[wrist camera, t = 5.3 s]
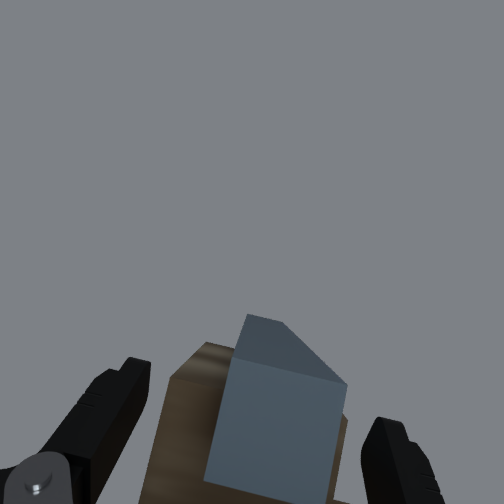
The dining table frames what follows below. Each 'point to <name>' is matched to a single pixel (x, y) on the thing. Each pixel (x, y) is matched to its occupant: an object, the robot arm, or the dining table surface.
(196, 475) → the plinth
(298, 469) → the blue-gray bar
